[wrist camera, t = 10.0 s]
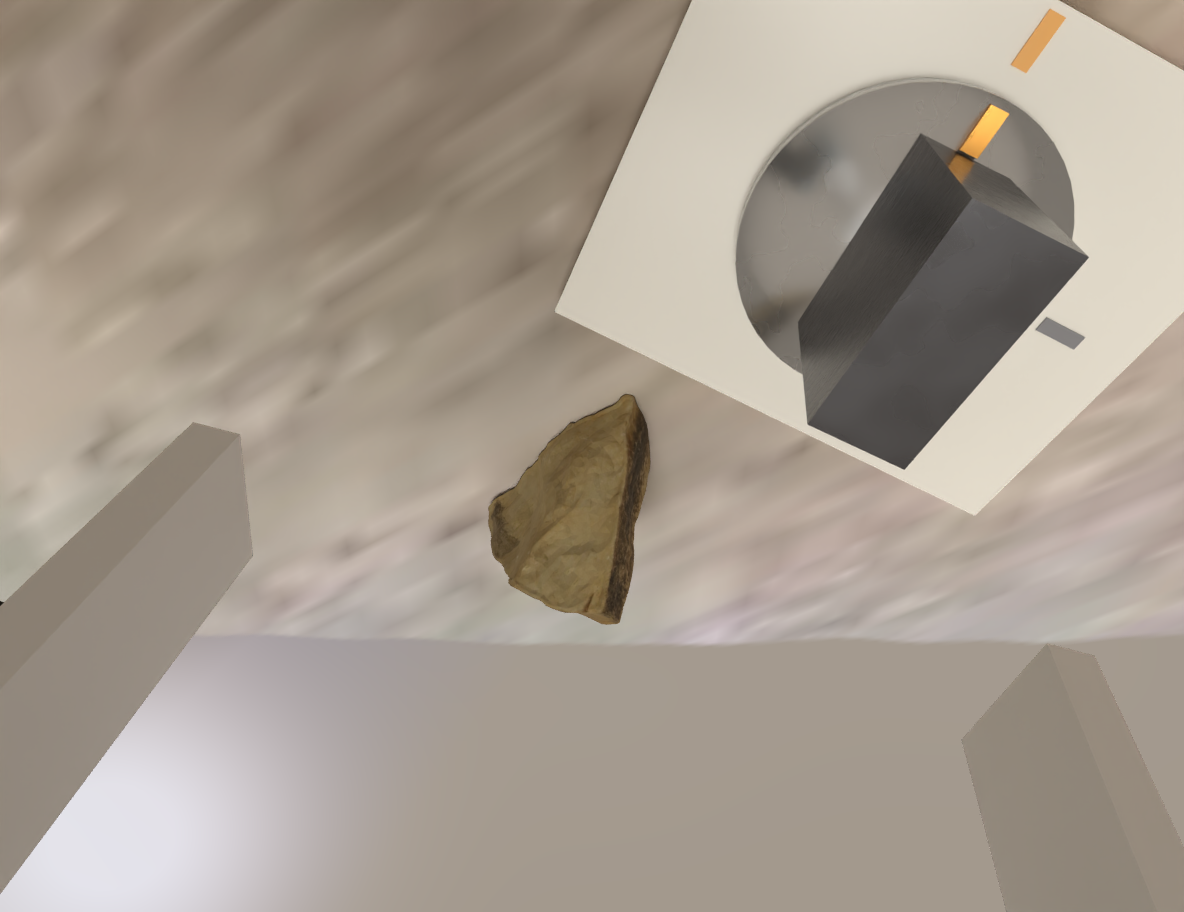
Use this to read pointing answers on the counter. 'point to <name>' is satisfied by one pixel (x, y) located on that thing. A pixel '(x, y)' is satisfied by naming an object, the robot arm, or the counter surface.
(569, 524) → the rock
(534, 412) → the counter surface
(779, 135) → the dial panel
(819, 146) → the dial
